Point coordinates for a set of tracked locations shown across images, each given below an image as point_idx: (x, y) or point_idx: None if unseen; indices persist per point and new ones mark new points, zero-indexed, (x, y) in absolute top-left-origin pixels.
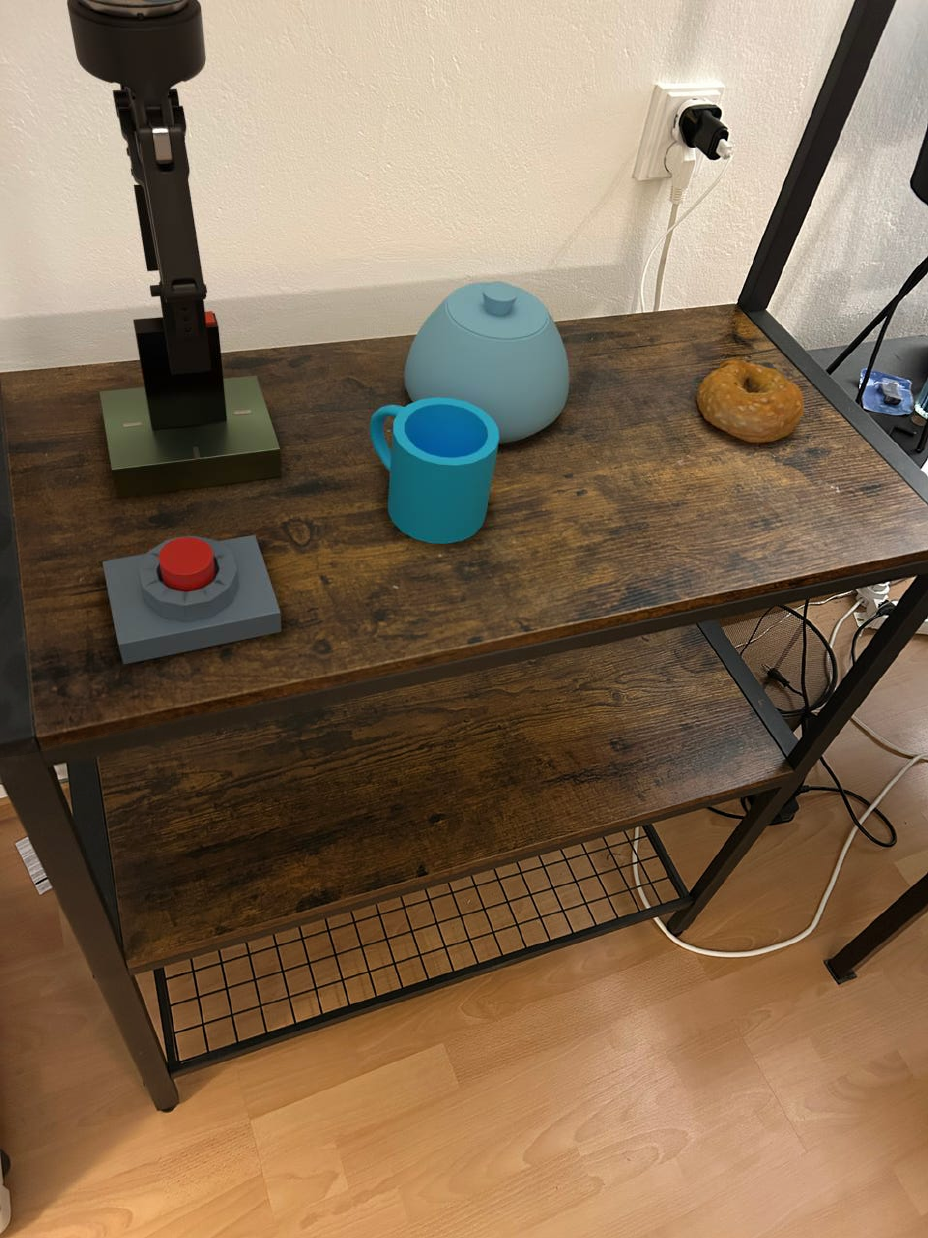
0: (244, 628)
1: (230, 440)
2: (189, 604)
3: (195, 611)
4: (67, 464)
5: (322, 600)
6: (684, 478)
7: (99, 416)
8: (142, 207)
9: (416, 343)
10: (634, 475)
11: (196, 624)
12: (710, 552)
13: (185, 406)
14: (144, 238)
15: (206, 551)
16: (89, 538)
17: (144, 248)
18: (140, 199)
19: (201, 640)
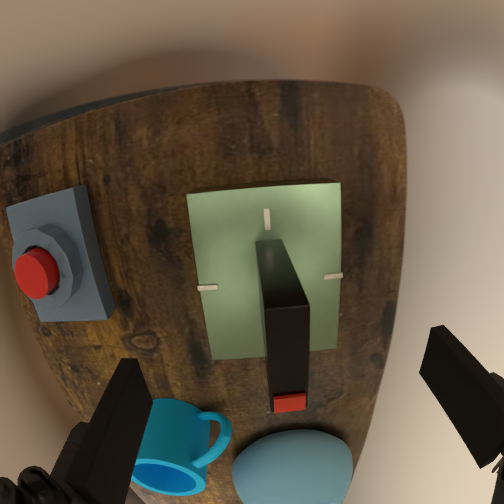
0: None
1: (228, 320)
2: (13, 268)
3: None
4: (256, 135)
5: (80, 341)
6: (205, 498)
7: (336, 172)
8: (489, 407)
9: (313, 465)
10: (208, 489)
11: None
12: (151, 490)
13: (259, 293)
14: (460, 365)
15: (36, 294)
16: (138, 162)
17: (451, 351)
18: (497, 417)
19: None
